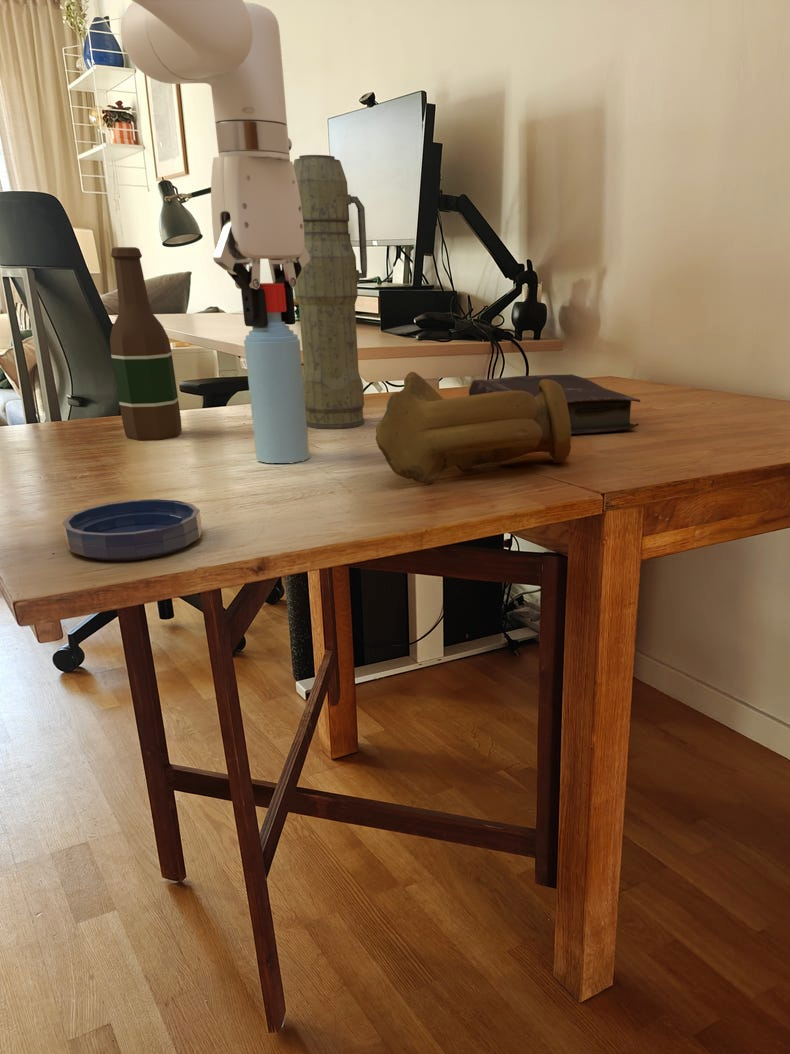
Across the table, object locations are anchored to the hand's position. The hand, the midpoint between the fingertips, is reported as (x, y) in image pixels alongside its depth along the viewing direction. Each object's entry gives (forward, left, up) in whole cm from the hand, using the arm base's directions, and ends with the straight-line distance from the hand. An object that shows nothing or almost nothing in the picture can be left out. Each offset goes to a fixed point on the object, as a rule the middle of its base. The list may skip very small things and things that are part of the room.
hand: (270, 323), depth 101 cm
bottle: (0, 0, -16) cm, 16 cm away
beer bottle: (-10, +24, -16) cm, 31 cm away
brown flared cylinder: (+16, -19, -16) cm, 30 cm away
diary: (+44, +4, -16) cm, 47 cm away
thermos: (+15, +19, -16) cm, 29 cm away
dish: (-23, -26, -16) cm, 38 cm away
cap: (0, 0, +1) cm, 1 cm away
